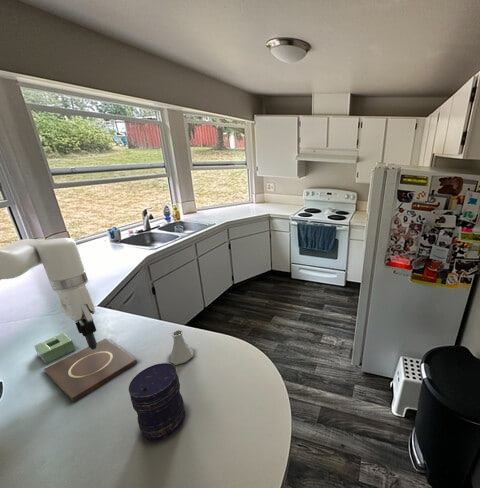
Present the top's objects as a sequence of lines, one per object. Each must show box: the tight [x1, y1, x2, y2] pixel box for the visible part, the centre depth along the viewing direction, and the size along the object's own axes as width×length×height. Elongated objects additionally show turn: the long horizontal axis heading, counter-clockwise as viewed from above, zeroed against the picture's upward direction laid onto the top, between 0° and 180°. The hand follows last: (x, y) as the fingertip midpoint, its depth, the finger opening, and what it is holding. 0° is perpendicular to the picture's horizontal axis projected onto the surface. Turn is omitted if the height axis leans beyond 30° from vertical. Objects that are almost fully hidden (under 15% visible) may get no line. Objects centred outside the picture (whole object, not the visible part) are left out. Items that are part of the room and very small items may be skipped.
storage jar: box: [128, 362, 187, 443], centre depth 62 cm, size 10×10×15 cm
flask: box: [169, 329, 194, 366], centre depth 84 cm, size 7×7×10 cm
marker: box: [82, 318, 98, 350], centre depth 79 cm, size 2×2×12 cm
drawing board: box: [43, 337, 138, 403], centre depth 80 cm, size 16×20×2 cm
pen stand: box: [33, 333, 76, 365], centre depth 85 cm, size 7×7×4 cm
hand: (87, 331), depth 79 cm, fingers closed on marker, 2 cm apart
